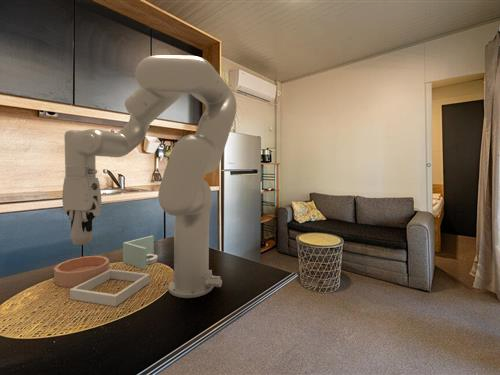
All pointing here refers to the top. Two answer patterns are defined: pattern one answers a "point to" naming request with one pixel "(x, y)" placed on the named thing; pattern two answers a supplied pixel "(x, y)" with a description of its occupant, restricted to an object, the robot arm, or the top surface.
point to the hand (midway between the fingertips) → (81, 232)
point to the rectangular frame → (85, 295)
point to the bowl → (79, 270)
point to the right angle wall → (139, 252)
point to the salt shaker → (80, 230)
